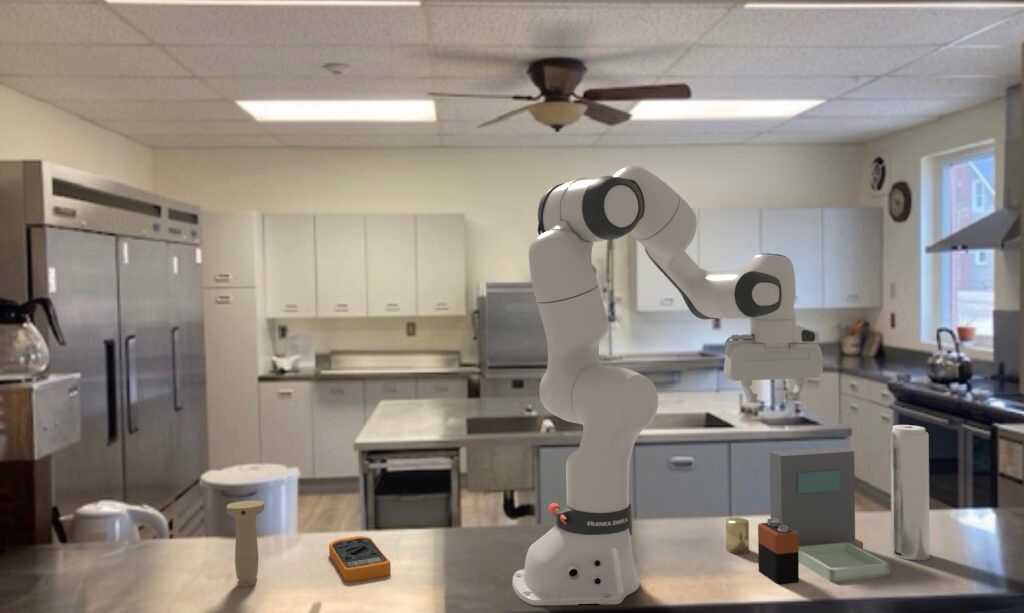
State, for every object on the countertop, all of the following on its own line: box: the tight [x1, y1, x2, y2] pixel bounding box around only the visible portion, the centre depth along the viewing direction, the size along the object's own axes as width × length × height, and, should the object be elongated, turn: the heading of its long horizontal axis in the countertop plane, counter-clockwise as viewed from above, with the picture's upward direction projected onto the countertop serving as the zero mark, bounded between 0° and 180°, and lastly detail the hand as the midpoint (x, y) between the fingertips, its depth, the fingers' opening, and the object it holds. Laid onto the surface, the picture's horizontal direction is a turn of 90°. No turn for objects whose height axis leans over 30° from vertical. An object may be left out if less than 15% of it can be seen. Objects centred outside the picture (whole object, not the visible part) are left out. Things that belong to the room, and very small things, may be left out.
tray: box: [798, 542, 892, 583], centre depth 137 cm, size 12×12×2 cm
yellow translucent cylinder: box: [725, 517, 750, 555], centre depth 146 cm, size 4×4×6 cm
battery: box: [757, 517, 800, 585], centre depth 132 cm, size 4×7×10 cm, turn 11°
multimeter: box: [328, 535, 391, 583], centre depth 142 cm, size 9×18×3 cm, turn 25°
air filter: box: [889, 424, 931, 562], centre depth 142 cm, size 6×6×25 cm
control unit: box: [769, 446, 864, 550], centre depth 146 cm, size 18×6×20 cm, turn 101°
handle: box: [226, 500, 265, 588], centre depth 133 cm, size 5×6×15 cm
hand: (773, 401), depth 149 cm, fingers open, 8 cm apart
